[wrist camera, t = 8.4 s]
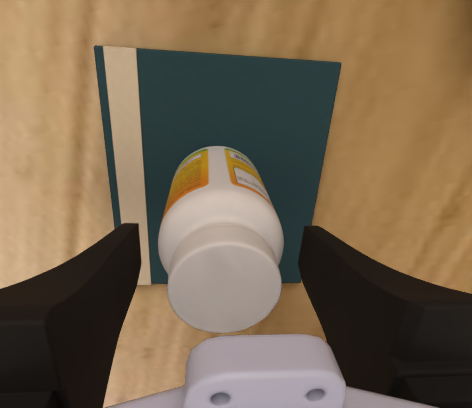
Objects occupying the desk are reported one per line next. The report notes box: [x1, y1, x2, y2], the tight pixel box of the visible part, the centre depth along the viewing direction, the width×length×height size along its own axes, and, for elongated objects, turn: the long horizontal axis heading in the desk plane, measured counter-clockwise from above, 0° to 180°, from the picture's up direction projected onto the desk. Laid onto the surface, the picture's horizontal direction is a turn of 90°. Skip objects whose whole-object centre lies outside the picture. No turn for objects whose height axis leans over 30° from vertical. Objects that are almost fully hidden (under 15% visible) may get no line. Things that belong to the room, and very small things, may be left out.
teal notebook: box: [94, 46, 341, 285], centre depth 20 cm, size 15×13×1 cm
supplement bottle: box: [158, 146, 284, 333], centre depth 15 cm, size 5×5×10 cm
